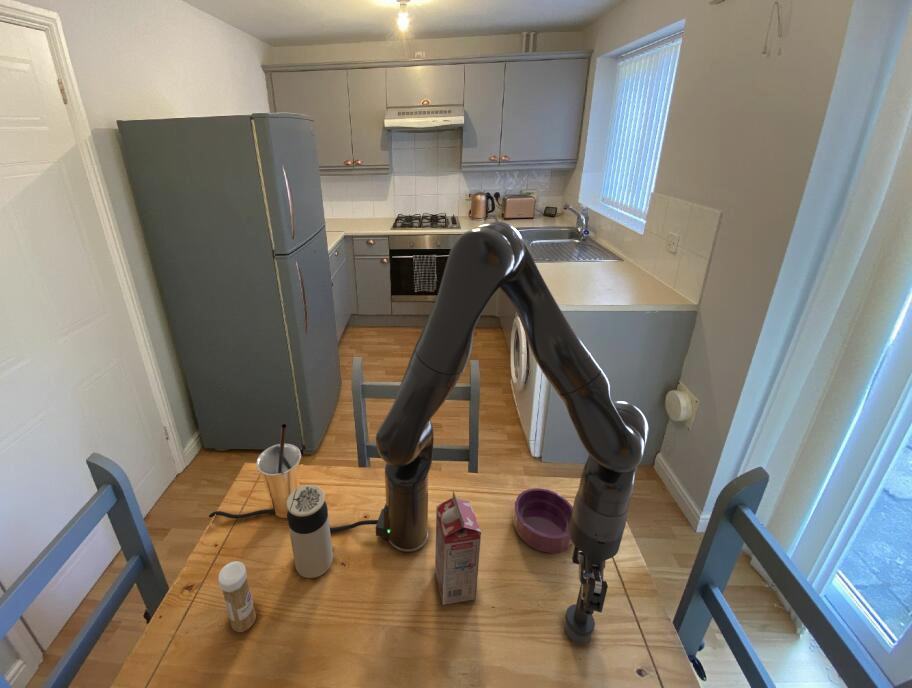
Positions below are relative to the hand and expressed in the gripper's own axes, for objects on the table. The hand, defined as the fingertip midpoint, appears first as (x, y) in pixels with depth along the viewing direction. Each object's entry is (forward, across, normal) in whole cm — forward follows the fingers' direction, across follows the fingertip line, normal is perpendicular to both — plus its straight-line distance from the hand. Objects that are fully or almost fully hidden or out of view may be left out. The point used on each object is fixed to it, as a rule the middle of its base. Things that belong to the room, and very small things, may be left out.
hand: (581, 585), depth 72 cm
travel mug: (+13, -1, -52) cm, 53 cm away
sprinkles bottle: (+13, +13, -60) cm, 63 cm away
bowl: (+12, -21, -4) cm, 25 cm away
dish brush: (+12, 0, +1) cm, 12 cm away
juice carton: (+12, -3, -22) cm, 25 cm away
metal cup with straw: (+13, -12, -64) cm, 66 cm away
